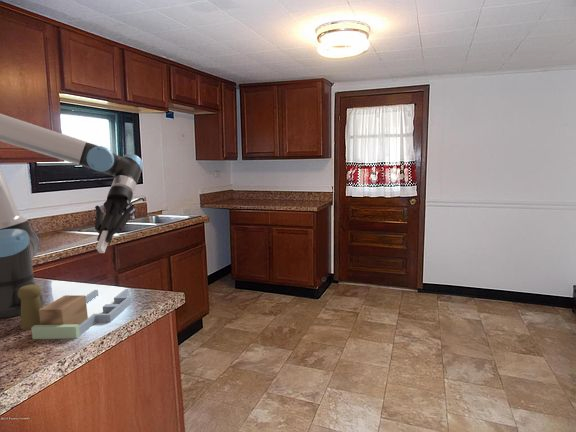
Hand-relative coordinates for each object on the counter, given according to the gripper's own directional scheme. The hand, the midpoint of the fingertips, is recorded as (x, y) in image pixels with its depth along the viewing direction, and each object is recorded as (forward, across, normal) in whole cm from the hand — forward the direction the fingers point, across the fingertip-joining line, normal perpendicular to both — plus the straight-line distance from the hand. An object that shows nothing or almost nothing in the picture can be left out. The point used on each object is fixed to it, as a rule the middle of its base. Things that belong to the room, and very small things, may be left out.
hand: (100, 250), depth 118 cm
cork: (+24, +11, 0) cm, 26 cm away
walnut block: (+25, +1, +1) cm, 25 cm away
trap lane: (+18, -2, -5) cm, 19 cm away
